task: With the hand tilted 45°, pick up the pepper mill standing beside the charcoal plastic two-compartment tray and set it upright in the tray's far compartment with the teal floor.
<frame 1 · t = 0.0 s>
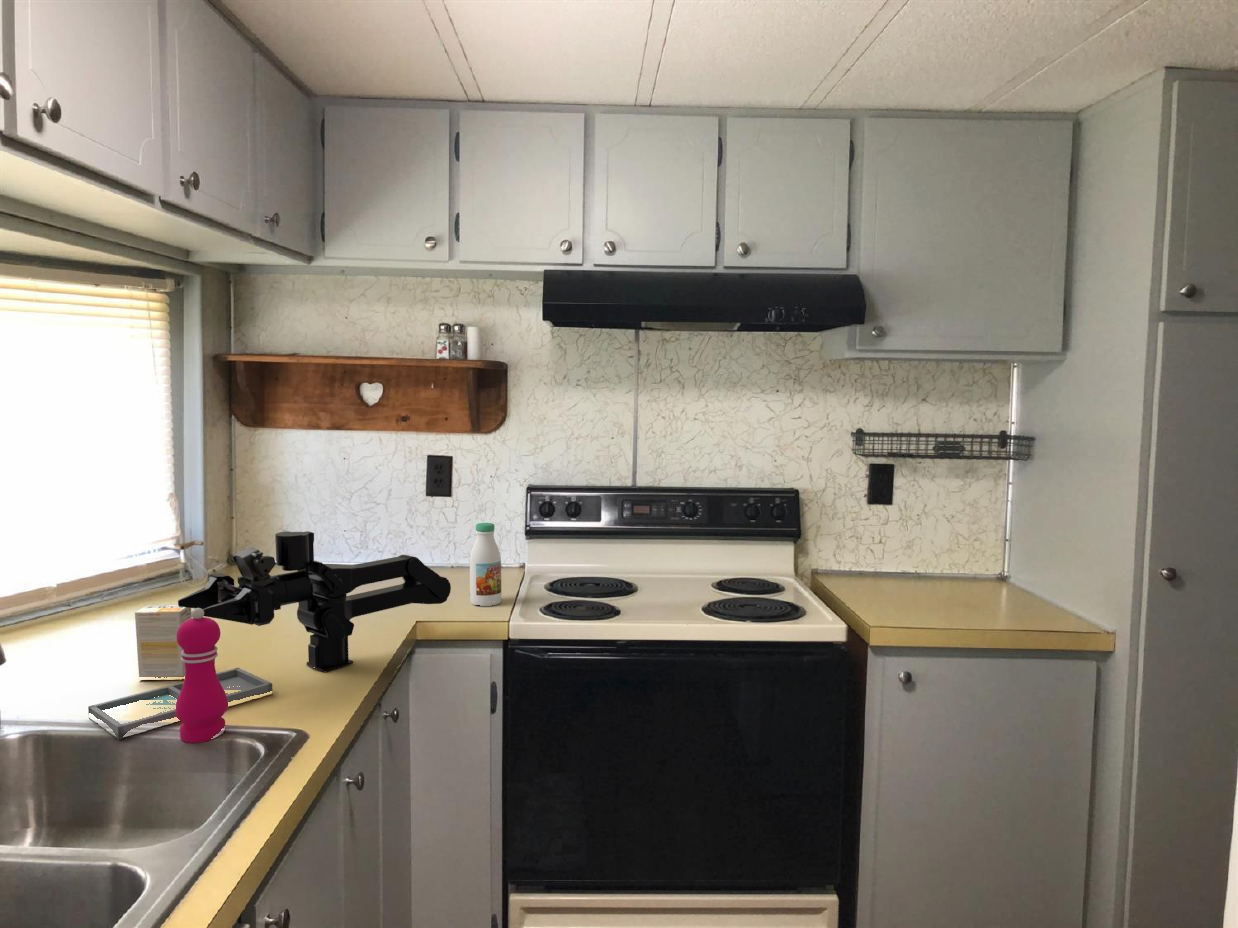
hand: (190, 607, 138), 17 cm above the countertop, tool horizontal, fingers open, 9 cm apart
sorting tray: (184, 706, 138), on the countertop
pepper mill: (203, 735, 127), on the countertop
supplement box: (167, 677, 152), on the countertop
milk bottle: (485, 603, 205), on the countertop
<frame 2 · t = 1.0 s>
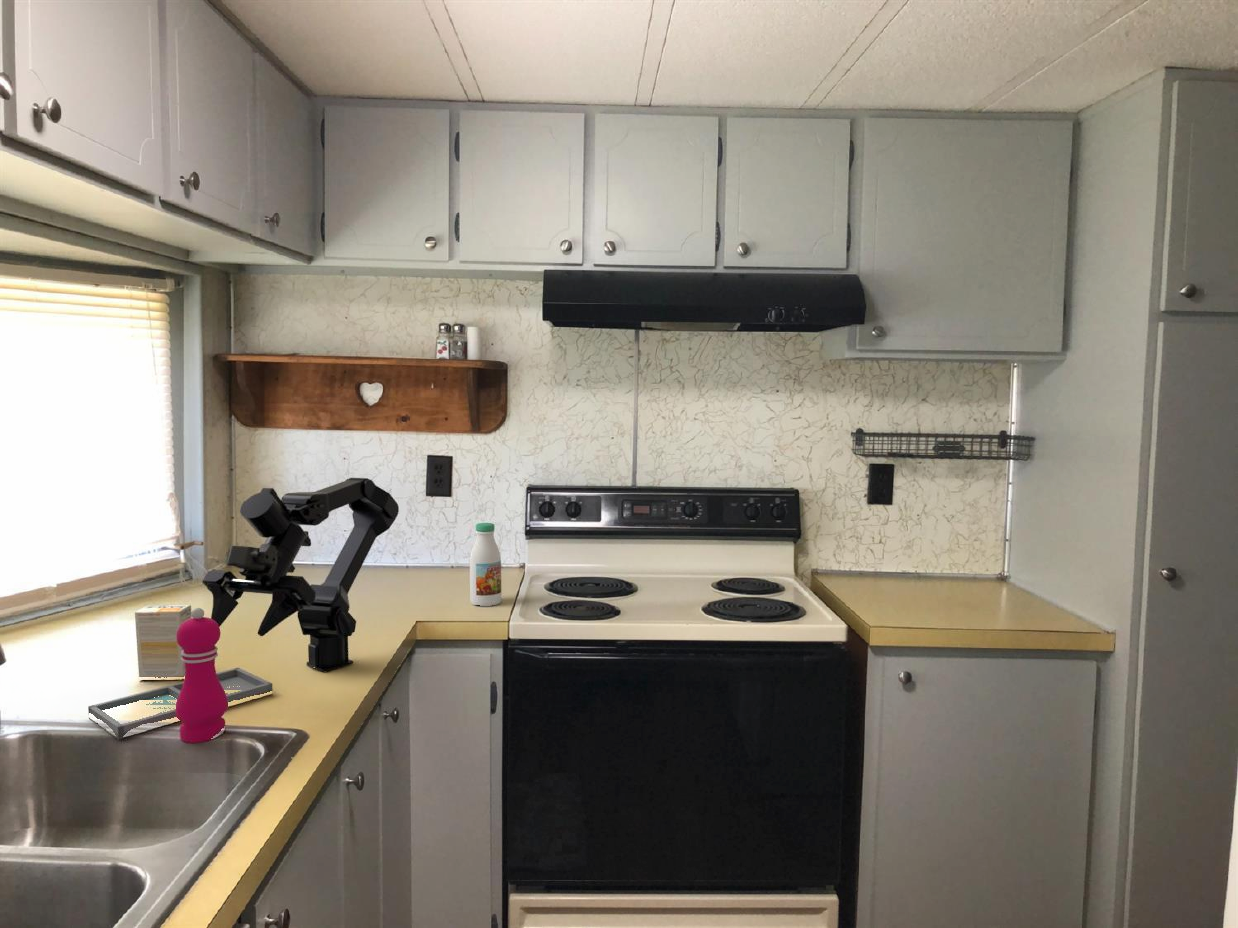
hand: (235, 632, 134), 14 cm above the countertop, tool tilted 45°, fingers open, 9 cm apart
nothing on the countertop moved.
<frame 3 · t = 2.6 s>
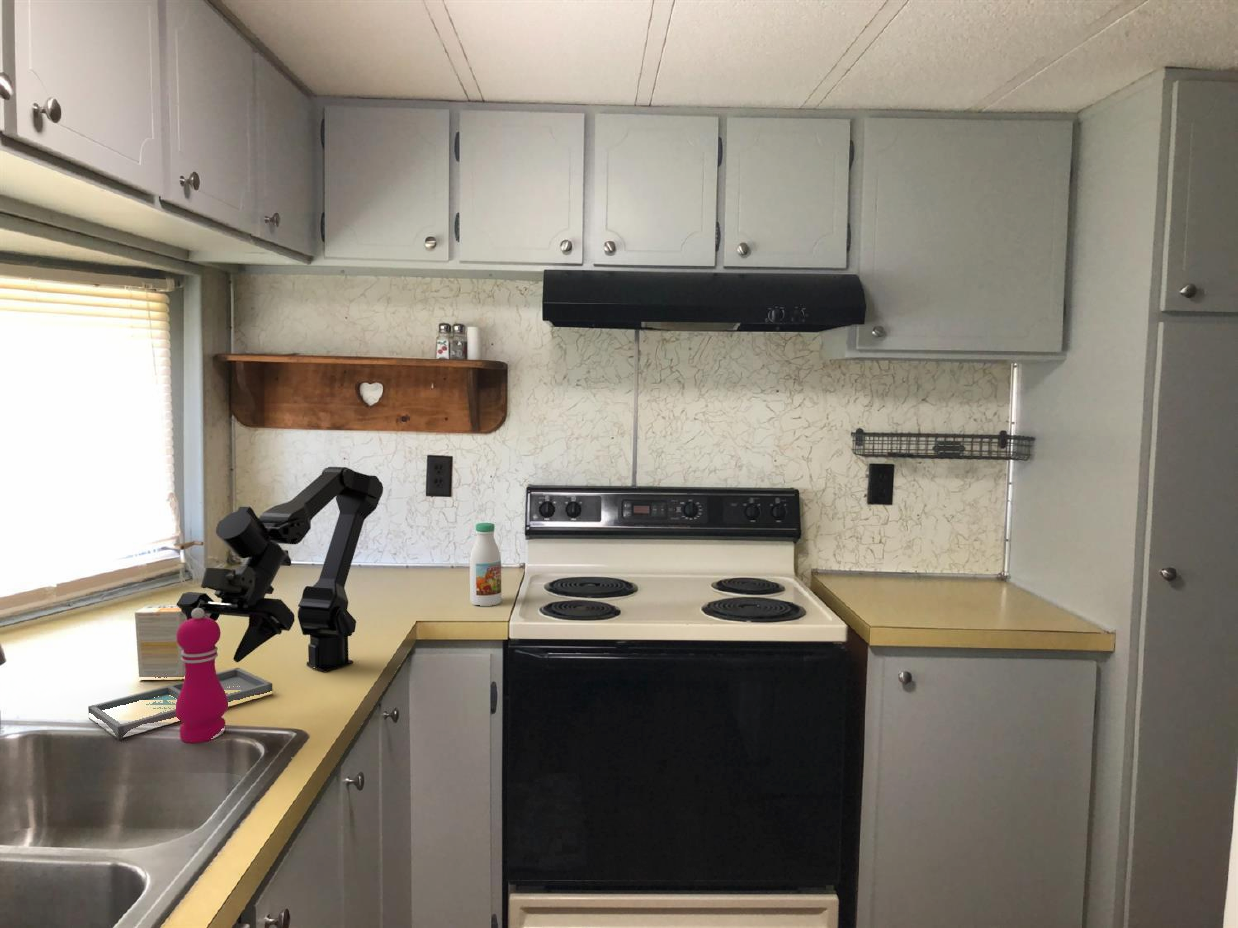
hand: (210, 658, 128), 11 cm above the countertop, tool tilted 45°, fingers open, 9 cm apart
nothing on the countertop moved.
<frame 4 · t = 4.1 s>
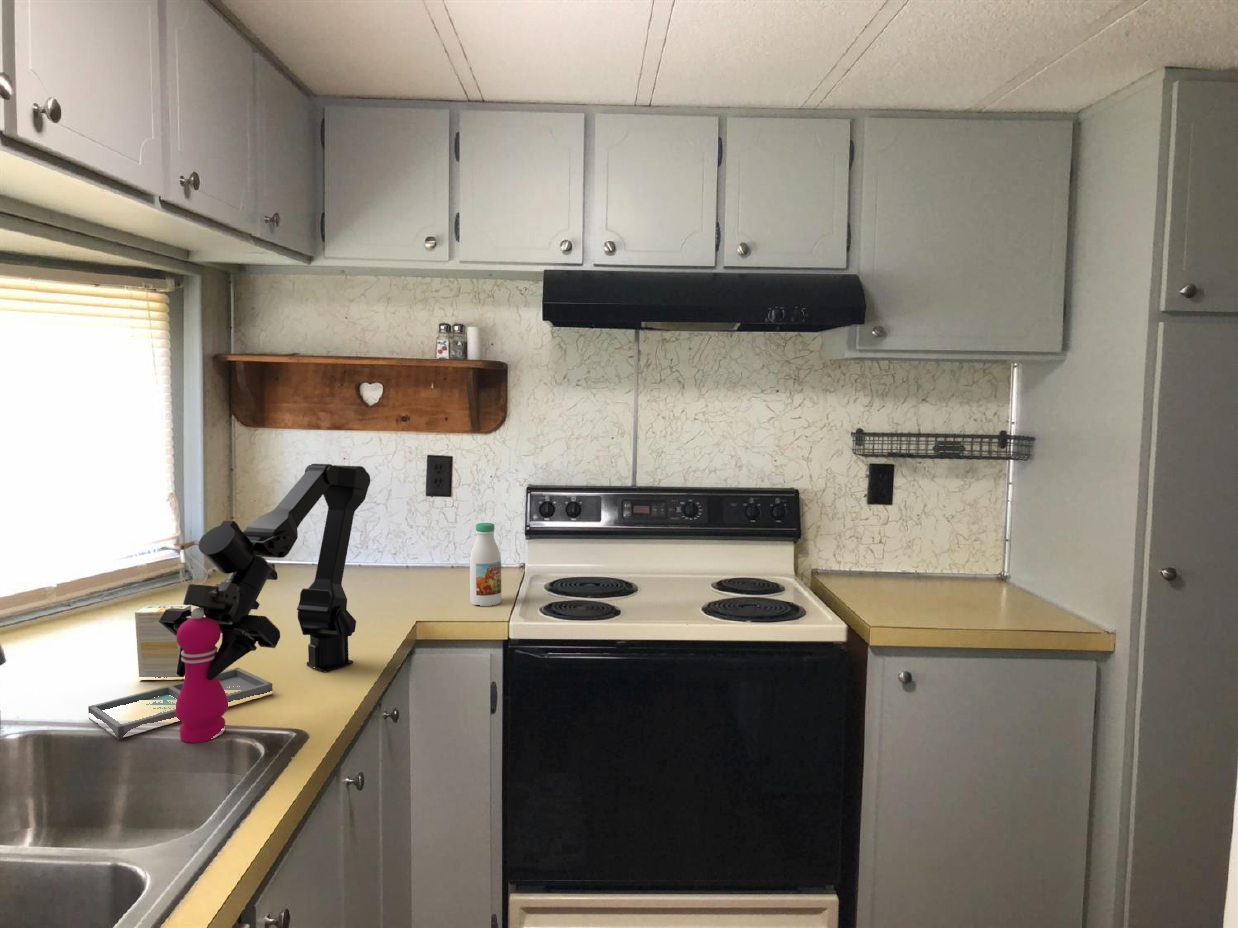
hand: (193, 677, 125), 10 cm above the countertop, tool tilted 45°, fingers closed on pepper mill, 5 cm apart
pepper mill: (203, 735, 127), on the countertop, touching gripper
everything else where it was.
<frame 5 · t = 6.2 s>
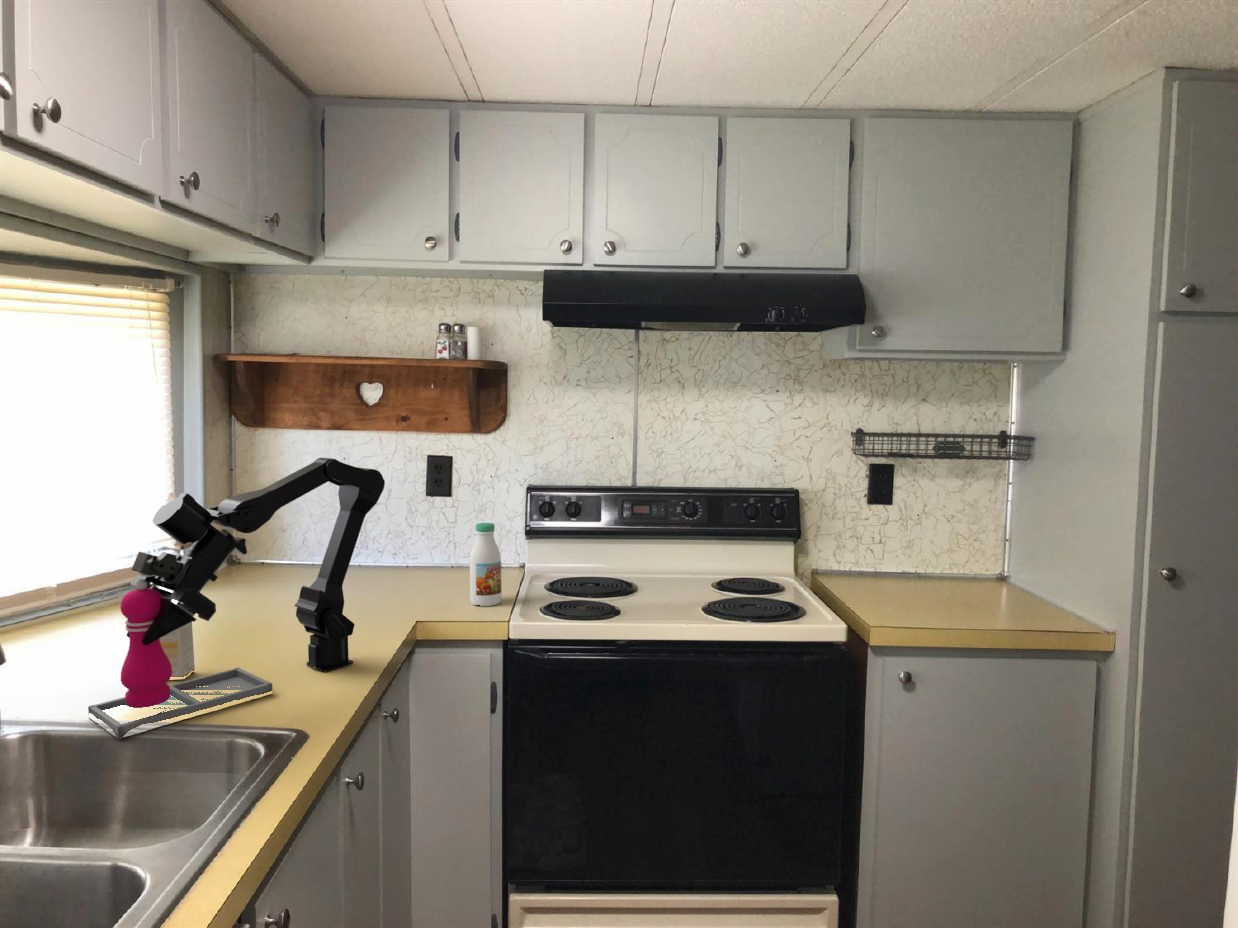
hand: (136, 640, 131), 13 cm above the countertop, tool tilted 45°, fingers closed on pepper mill, 5 cm apart
pepper mill: (148, 701, 133), point 3 cm above the countertop, touching gripper
everything else where it was.
when the fingers open (12 cm above the countertop, at t = 7.4 s): pepper mill stays where it is, resting on sorting tray.
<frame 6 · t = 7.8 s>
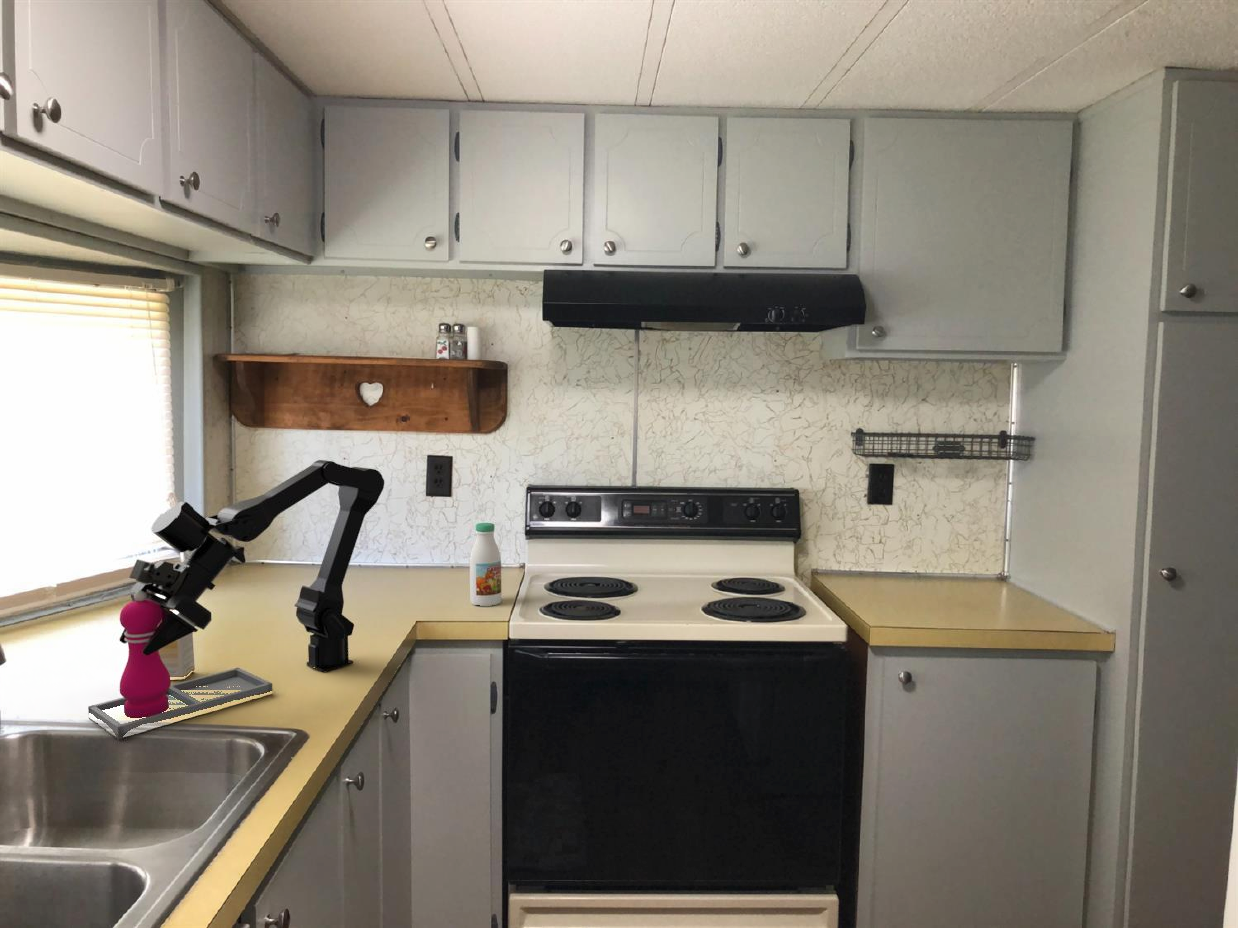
hand: (132, 648, 132), 12 cm above the countertop, tool tilted 45°, fingers open, 9 cm apart
pepper mill: (147, 712, 134), point 1 cm above the countertop, touching sorting tray
everything else where it was.
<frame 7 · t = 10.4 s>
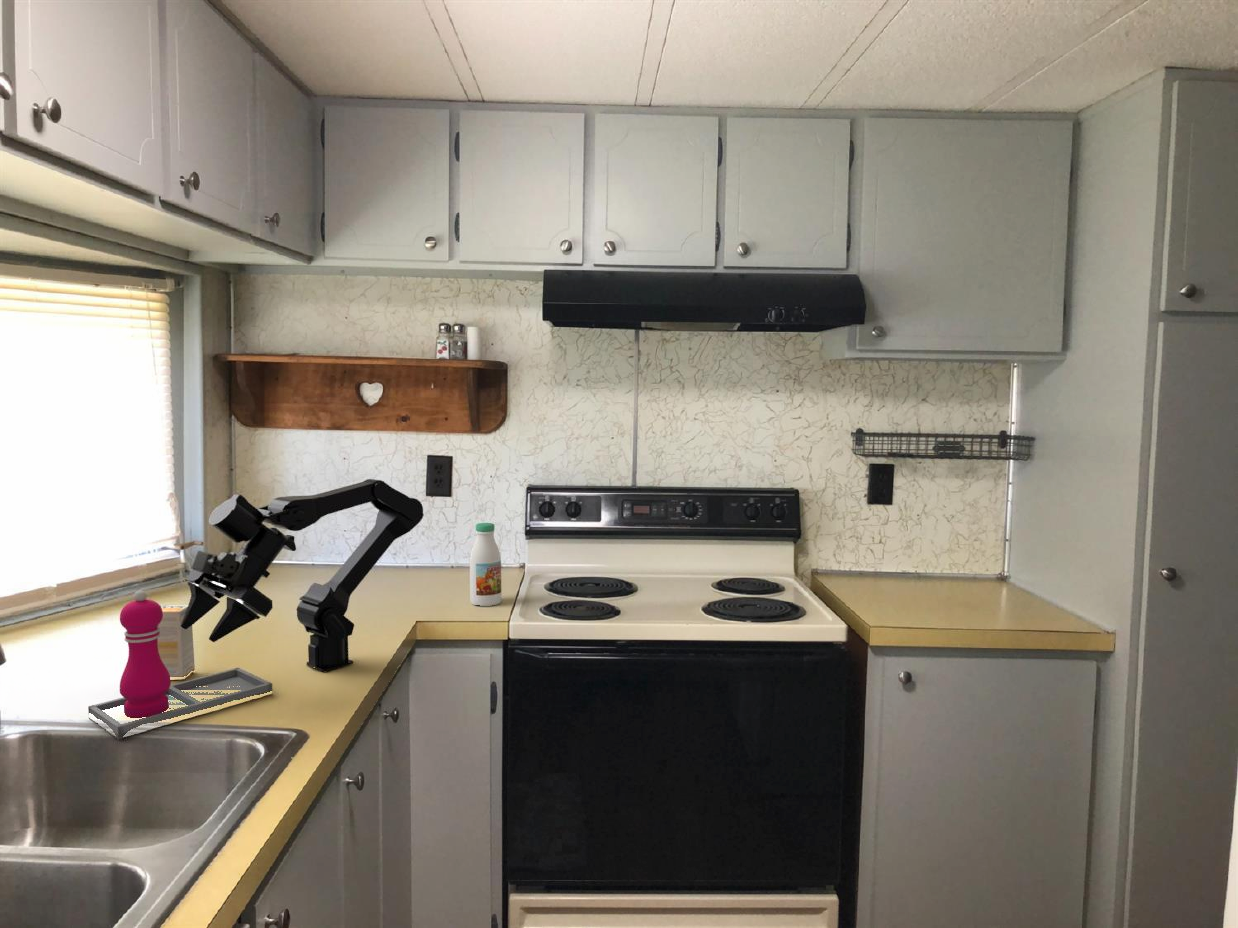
hand: (196, 634, 139), 12 cm above the countertop, tool tilted 45°, fingers open, 9 cm apart
nothing on the countertop moved.
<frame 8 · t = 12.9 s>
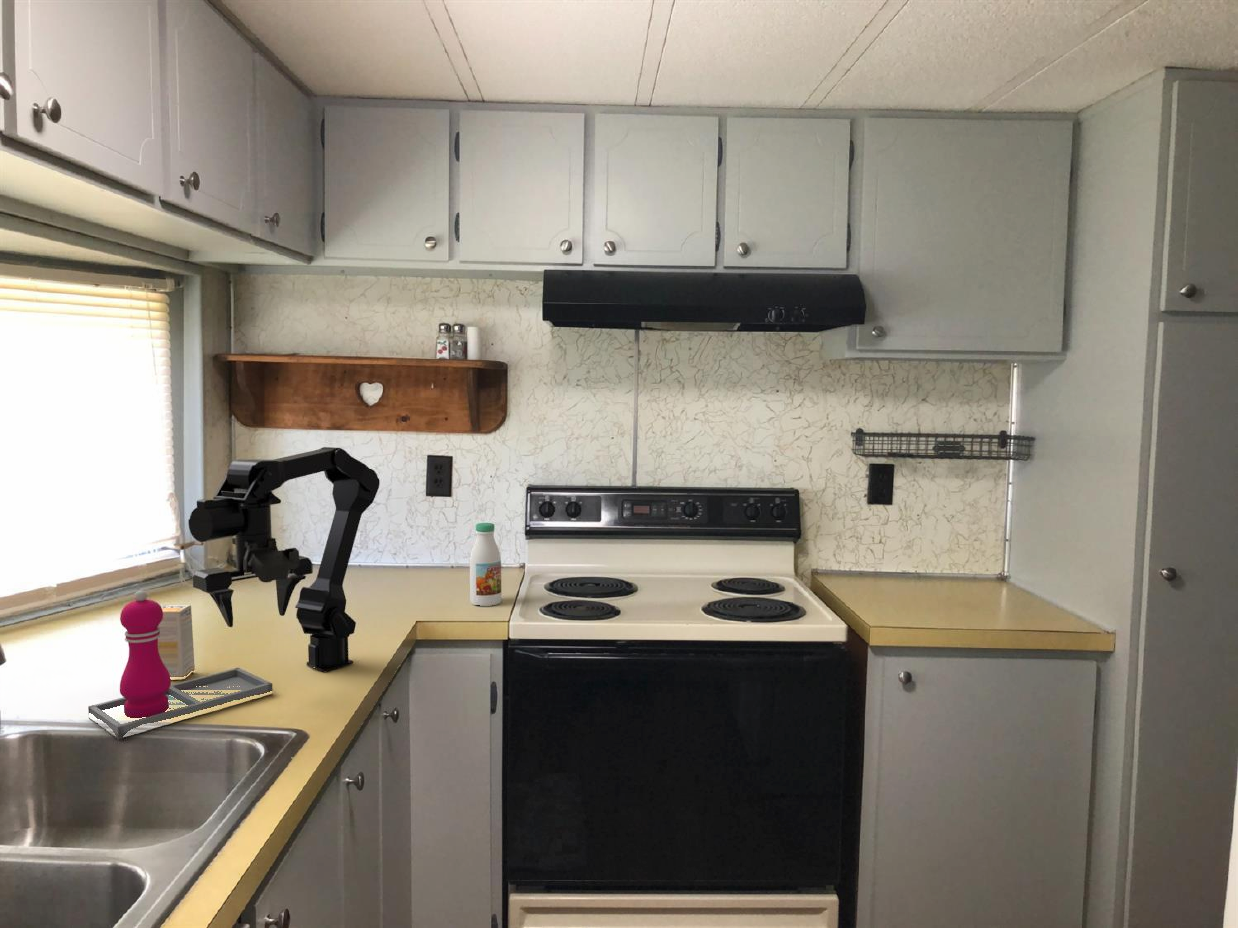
hand: (256, 621, 143), 13 cm above the countertop, tool pointing down, fingers open, 9 cm apart
nothing on the countertop moved.
at the end: pepper mill inside the target area on the sorting tray (0.2 cm from its centre), point 0.7 cm above the sorting tray's base; pepper mill tilted 0°; the gripper is holding nothing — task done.
